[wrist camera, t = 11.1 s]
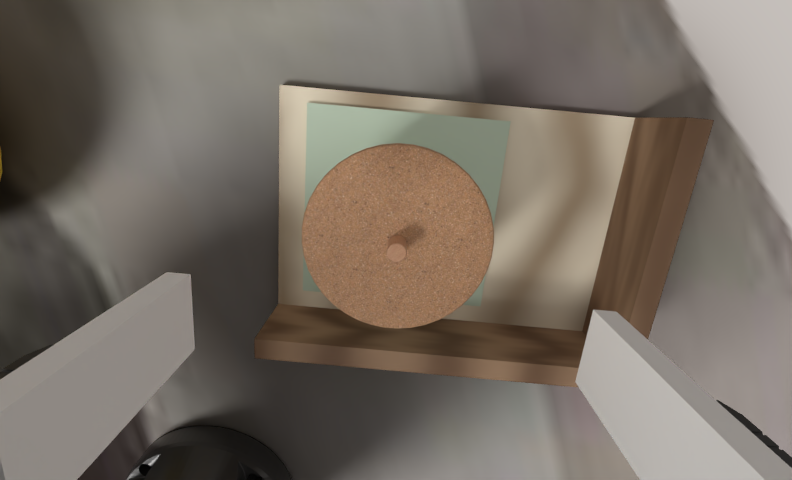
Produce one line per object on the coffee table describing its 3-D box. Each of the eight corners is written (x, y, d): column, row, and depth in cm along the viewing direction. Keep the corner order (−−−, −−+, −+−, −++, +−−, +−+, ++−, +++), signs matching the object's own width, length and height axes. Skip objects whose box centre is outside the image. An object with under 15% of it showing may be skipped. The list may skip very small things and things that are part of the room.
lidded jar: (502, 212, 30) (545, 253, 21) (399, 306, 32) (396, 379, 23) (399, 103, 28) (396, 96, 19) (296, 211, 30) (250, 251, 21)
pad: (303, 288, 32) (302, 290, 32) (308, 102, 28) (307, 102, 28) (479, 304, 32) (480, 306, 32) (509, 121, 28) (510, 121, 28)
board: (280, 317, 34) (278, 320, 33) (282, 85, 28) (279, 84, 28) (593, 345, 34) (596, 349, 33) (651, 119, 28) (656, 119, 28)
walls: (280, 317, 34) (254, 358, 28) (282, 85, 28) (250, 76, 23) (593, 345, 34) (632, 392, 28) (651, 119, 28) (713, 119, 23)
